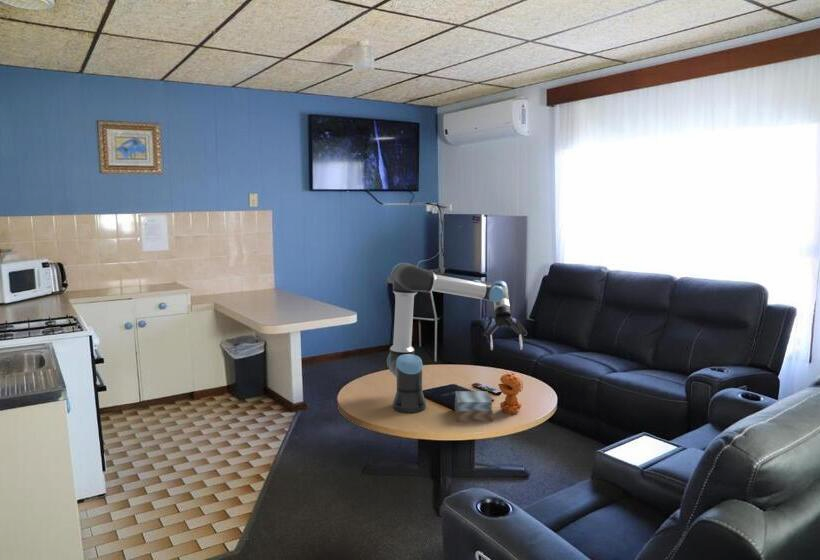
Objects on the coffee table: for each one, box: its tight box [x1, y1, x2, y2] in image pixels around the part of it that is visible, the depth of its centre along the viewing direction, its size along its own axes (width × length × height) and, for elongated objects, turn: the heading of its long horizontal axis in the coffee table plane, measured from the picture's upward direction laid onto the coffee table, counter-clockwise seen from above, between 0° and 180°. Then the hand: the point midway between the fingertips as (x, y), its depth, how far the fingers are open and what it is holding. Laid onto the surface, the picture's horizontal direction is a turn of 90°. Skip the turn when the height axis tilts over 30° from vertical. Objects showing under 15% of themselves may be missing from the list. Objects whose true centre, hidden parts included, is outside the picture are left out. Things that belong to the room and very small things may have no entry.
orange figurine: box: [497, 372, 524, 415], centre depth 263 cm, size 11×11×18 cm
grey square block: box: [454, 390, 493, 423], centre depth 259 cm, size 15×15×8 cm
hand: (506, 348), depth 271 cm, fingers open, 13 cm apart
